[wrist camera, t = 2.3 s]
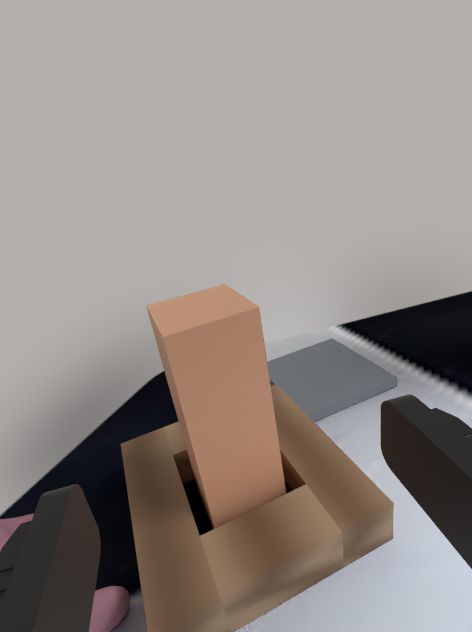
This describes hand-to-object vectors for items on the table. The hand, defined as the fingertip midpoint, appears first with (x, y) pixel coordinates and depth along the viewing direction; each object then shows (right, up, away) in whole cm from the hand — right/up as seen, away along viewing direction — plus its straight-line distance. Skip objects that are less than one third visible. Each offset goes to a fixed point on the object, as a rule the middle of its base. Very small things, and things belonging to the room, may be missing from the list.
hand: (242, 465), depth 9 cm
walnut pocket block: (0, -9, +16) cm, 18 cm away
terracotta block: (0, -9, +16) cm, 19 cm away
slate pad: (+9, -3, +28) cm, 29 cm away
